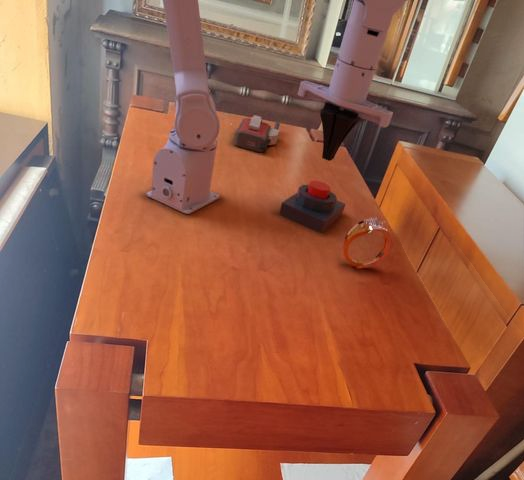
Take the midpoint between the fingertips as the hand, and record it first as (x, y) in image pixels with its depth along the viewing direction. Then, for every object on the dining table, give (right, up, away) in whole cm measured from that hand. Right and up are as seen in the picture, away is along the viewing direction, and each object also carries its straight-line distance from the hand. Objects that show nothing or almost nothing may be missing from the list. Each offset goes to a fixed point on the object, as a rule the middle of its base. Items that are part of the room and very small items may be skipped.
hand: (327, 158), depth 78 cm
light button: (-1, -5, +4) cm, 6 cm away
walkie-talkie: (-12, +16, +31) cm, 37 cm away
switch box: (-2, -7, +6) cm, 10 cm away
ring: (+4, -18, -4) cm, 19 cm away
